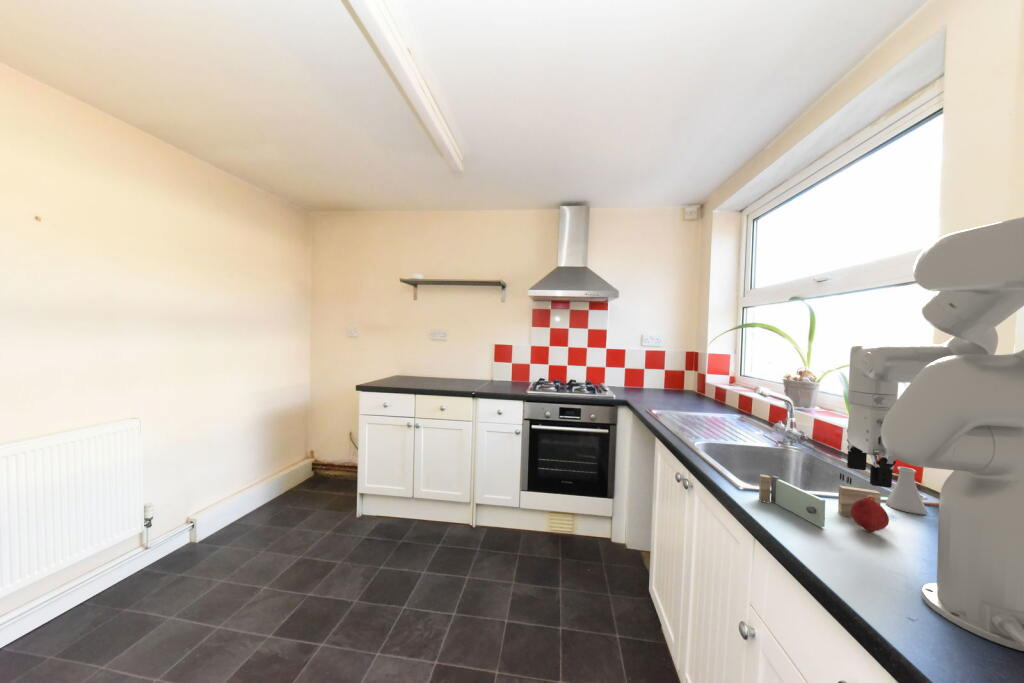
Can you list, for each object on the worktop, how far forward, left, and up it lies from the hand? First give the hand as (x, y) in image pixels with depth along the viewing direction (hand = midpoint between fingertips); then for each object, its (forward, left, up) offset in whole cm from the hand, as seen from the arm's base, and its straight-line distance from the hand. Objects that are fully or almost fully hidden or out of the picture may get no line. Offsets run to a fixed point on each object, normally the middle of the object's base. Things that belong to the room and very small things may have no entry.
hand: (867, 477), depth 78 cm
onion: (-1, 0, -12) cm, 12 cm away
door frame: (+7, +6, -12) cm, 15 cm away
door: (+2, +12, -12) cm, 17 cm away
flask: (+18, -15, -12) cm, 27 cm away
